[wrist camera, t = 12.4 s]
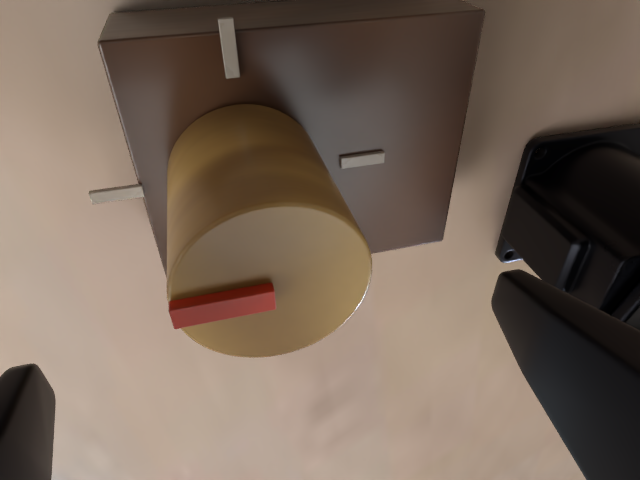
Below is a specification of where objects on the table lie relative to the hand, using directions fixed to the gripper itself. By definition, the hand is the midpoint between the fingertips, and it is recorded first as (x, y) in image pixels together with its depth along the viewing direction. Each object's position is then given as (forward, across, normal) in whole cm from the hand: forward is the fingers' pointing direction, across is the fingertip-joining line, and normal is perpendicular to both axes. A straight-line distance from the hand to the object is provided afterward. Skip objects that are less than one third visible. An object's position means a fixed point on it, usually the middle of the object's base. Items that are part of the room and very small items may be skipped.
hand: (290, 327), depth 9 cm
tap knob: (+6, 0, 0) cm, 6 cm away
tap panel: (+9, -2, 0) cm, 9 cm away
